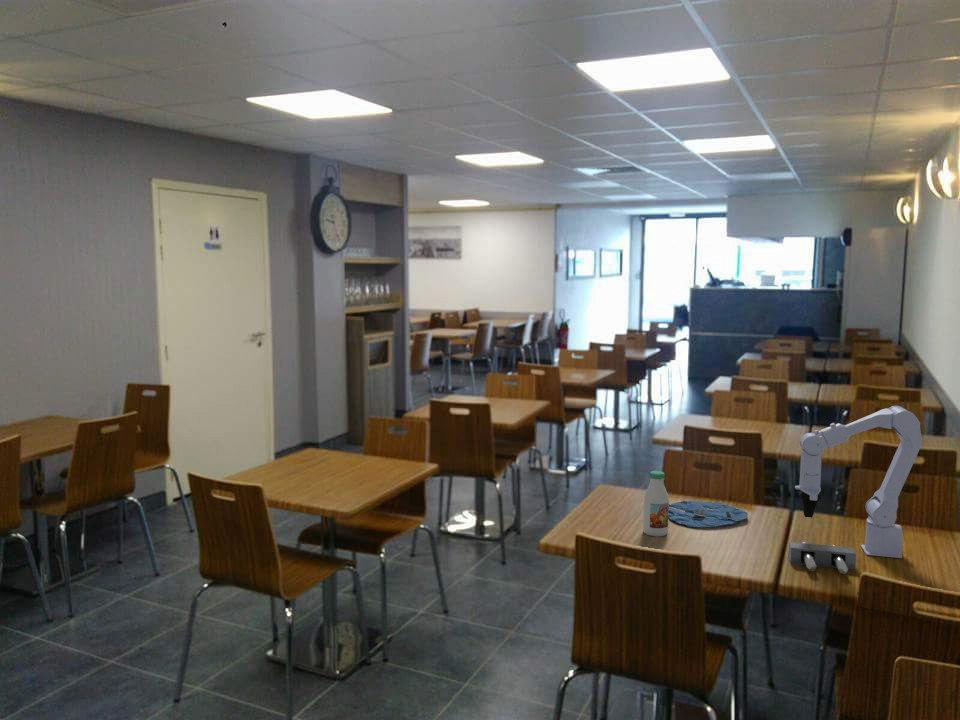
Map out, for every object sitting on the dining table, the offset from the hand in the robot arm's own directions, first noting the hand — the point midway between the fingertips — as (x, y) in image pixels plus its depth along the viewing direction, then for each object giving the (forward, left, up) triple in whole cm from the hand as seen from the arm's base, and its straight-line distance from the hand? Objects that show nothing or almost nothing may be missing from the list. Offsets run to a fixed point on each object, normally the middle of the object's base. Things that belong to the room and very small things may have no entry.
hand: (808, 516), depth 226 cm
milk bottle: (+45, +1, -10) cm, 46 cm away
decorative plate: (+30, -21, -10) cm, 38 cm away
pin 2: (-6, +16, -9) cm, 20 cm away
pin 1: (+2, +16, -9) cm, 19 cm away
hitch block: (-2, +14, -9) cm, 16 cm away
